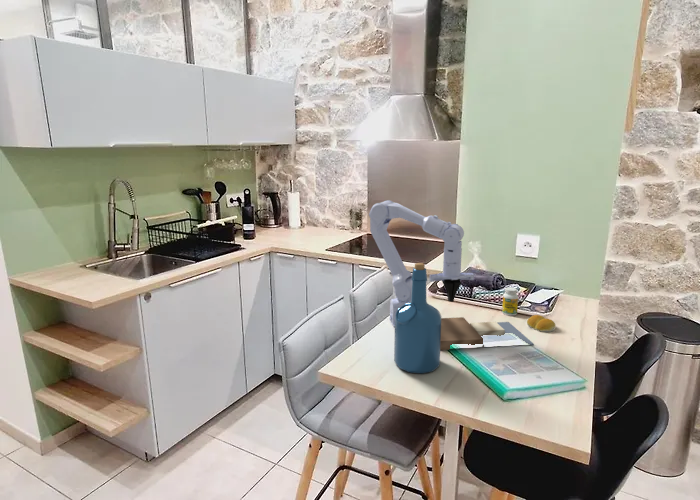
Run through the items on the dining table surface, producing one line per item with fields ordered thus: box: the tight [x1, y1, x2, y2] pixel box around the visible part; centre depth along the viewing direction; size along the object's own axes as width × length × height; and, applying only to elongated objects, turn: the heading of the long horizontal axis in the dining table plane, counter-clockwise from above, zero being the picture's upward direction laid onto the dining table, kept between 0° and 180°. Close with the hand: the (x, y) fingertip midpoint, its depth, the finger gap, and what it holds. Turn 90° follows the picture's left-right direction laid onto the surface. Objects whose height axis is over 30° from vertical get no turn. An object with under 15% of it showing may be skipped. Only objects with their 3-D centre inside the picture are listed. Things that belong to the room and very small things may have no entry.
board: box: [440, 316, 483, 351], centre depth 147 cm, size 14×18×3 cm
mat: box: [496, 321, 535, 346], centre depth 149 cm, size 16×18×1 cm
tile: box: [469, 321, 505, 336], centre depth 148 cm, size 9×7×2 cm
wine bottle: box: [393, 262, 442, 374], centre depth 126 cm, size 14×13×30 cm
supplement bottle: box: [501, 287, 519, 317], centre depth 166 cm, size 5×5×10 cm
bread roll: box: [526, 314, 556, 333], centre depth 154 cm, size 8×9×4 cm
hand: (450, 300), depth 151 cm, fingers closed
